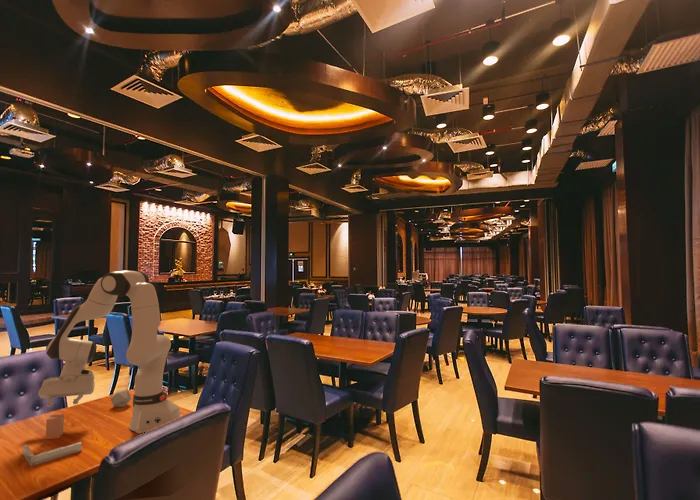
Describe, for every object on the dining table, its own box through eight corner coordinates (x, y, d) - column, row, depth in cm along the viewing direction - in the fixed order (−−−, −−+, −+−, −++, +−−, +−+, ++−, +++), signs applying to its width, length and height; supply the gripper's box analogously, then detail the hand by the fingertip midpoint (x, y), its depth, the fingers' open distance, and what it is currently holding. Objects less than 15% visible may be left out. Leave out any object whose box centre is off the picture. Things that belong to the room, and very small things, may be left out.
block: (63, 433, 158) (64, 414, 158) (58, 437, 153) (59, 418, 154) (50, 434, 156) (51, 415, 156) (45, 439, 152) (46, 419, 152)
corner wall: (22, 453, 140) (23, 445, 140) (71, 440, 151) (71, 432, 151) (30, 466, 131) (30, 457, 131) (81, 451, 142) (81, 442, 142)
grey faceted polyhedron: (115, 411, 183) (129, 394, 186) (103, 402, 185) (117, 384, 188) (124, 412, 191) (138, 394, 194) (112, 402, 192) (126, 385, 196)
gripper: (42, 374, 166) (31, 404, 157) (95, 370, 173) (87, 398, 163) (46, 381, 170) (35, 411, 161) (98, 377, 177) (90, 405, 167)
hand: (62, 404), depth 162 cm, fingers open, 8 cm apart
